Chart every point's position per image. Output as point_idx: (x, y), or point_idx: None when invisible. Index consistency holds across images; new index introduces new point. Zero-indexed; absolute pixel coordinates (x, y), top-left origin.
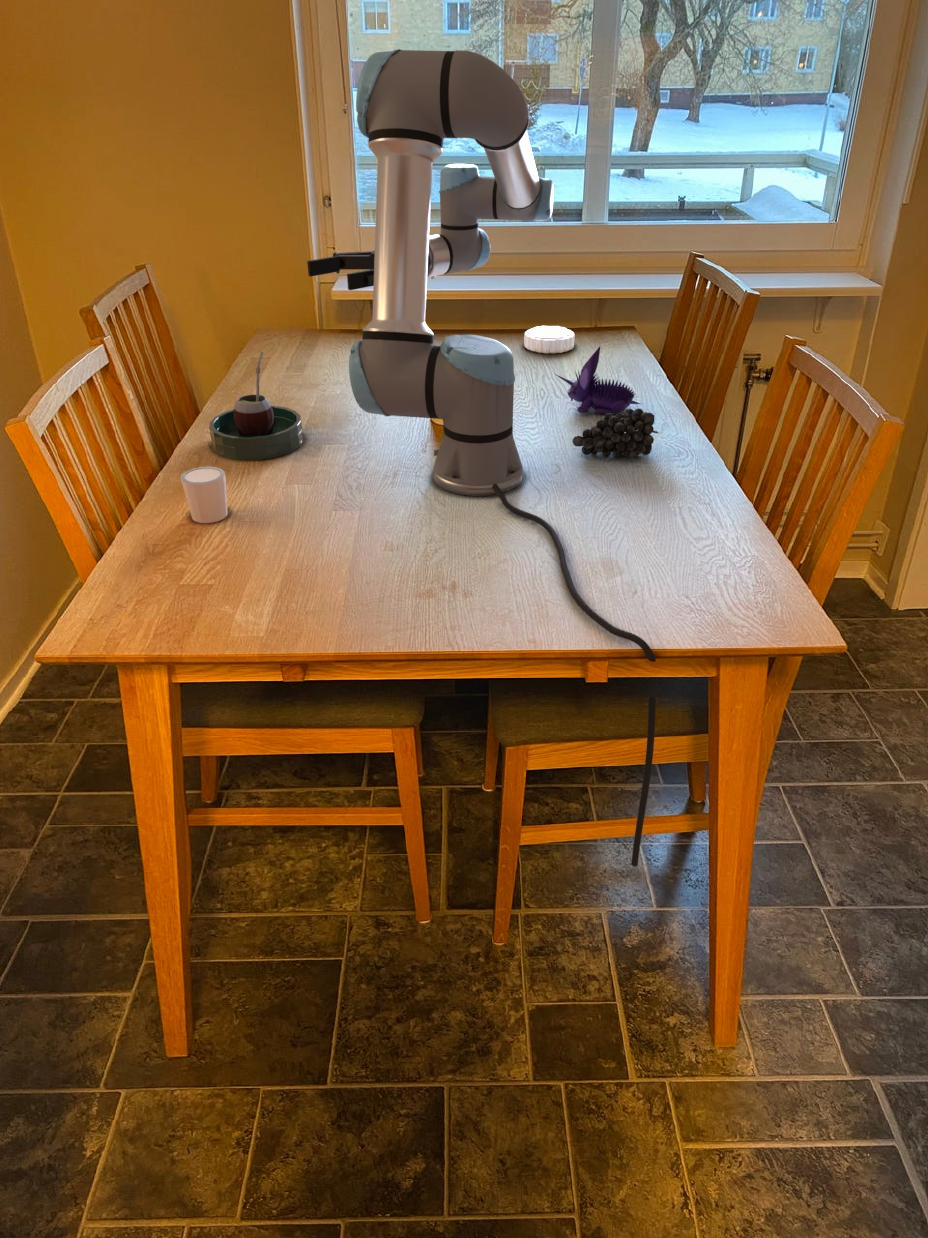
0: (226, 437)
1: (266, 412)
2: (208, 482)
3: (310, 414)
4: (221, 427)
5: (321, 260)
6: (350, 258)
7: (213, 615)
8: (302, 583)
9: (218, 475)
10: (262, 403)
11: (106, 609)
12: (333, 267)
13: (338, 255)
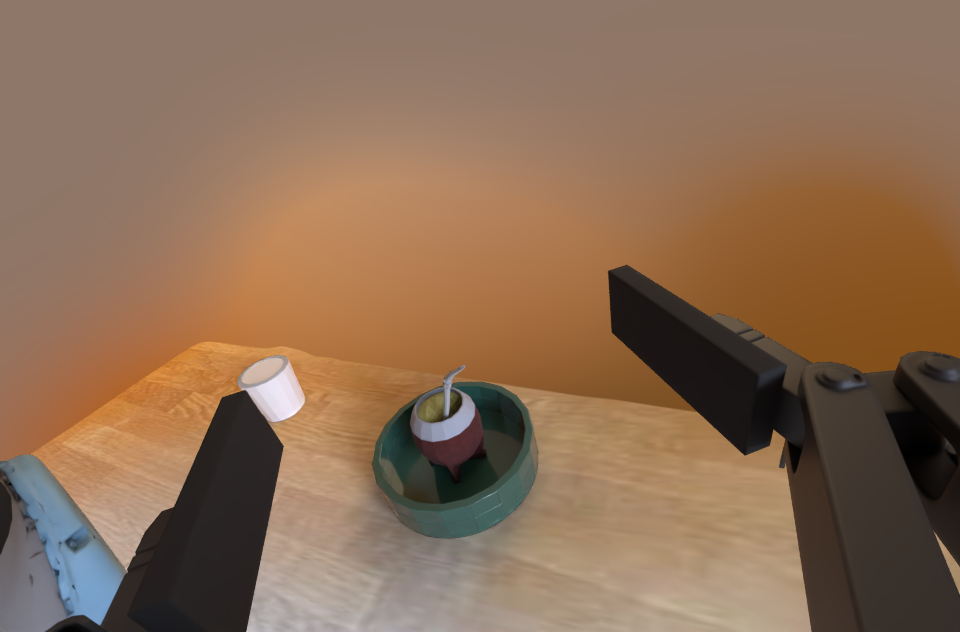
0: (412, 401)
1: (413, 436)
2: (240, 375)
3: (579, 580)
4: (501, 405)
5: (651, 308)
6: (815, 479)
7: (128, 413)
8: (78, 479)
9: (248, 382)
10: (414, 420)
11: (213, 357)
12: (706, 397)
13: (822, 379)
